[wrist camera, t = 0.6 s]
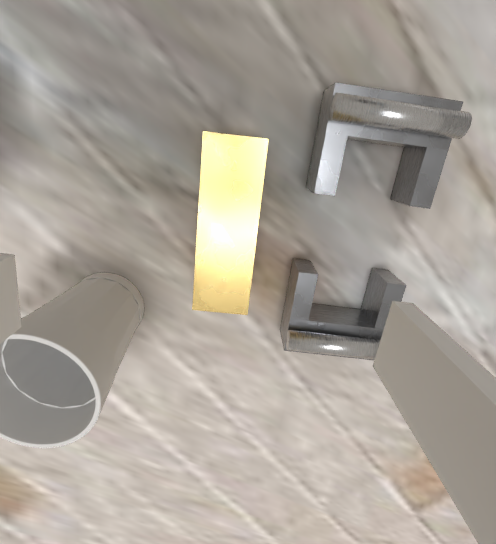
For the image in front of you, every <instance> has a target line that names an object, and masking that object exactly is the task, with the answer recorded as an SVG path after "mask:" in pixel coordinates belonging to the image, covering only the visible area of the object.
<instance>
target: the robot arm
mask: <svg viewBox="0 0 496 544" xmlns="http://www.w3.org/2000/svg"><path fill="white" fill-rule="evenodd" d="M21 327H22V326H21V315H20V305H19V295H18V285H17V274H16V264H15V255H13V254H5V253H0V344H1V343H2V342H3V341H4V340H6V339H7V338H8V337H9V336H11V335H12V334H13V333H15V332H16V331H17V330H18V329H20V328H21ZM373 367H374V369H375V371H376V372H377V374H378V376H379V377H380V379H381V381H382V382H383V384H384V386H385V387H386V389H387V391H388V393H389V394H390V396H391V398H392V399H393V401H394V403H395V404H396V406H397V408H398V409H399V411H400V413H401V414H402V416H403V418H404V419H405V421H406V423H407V424H408V426H409V428H410V429H411V431H412V433H413V435H414V436H415V438H416V440H417V441H418V443H419V445H420V446H421V448H422V450H423V451H424V453H425V455H426V456H427V458H428V460H429V461H430V463H431V465H432V466H433V468H434V470H435V472H436V473H437V475H438V477H439V478H440V480H441V482H442V483H443V485H444V487H445V488H446V490H447V492H448V493H449V495H450V497H451V498H452V500H453V502H454V503H455V505H456V507H457V508H458V510H459V512H460V514H461V515H462V517H463V519H464V520H465V522H466V524H467V525H468V527H469V529H470V530H471V532H472V534H473V535H474V537H475V539H476V540H477V542H478V544H496V378H495V377H494V376H493V375H492V374H491V373H490V372H489V371H487V370H486V369H485V368H484V367H483V366H482V365H481V364H480V363H479V362H477V361H476V360H475V359H474V358H473V357H472V356H471V355H470V354H469V353H468V352H466V351H465V350H464V349H463V348H462V347H461V346H460V345H459V344H458V343H456V342H455V341H454V340H453V339H452V338H451V337H450V336H449V335H448V334H446V333H445V332H444V331H443V330H442V329H441V328H440V327H439V326H438V325H437V324H435V323H434V322H433V321H432V320H431V319H430V318H429V317H428V316H427V315H425V314H424V313H423V312H422V311H421V310H420V309H419V308H418V307H417V306H416V305H414V304H413V303H406V302H398V301H392V304H391V307H390V310H389V314H388V317H387V320H386V324H385V327H384V330H383V334H382V337H381V340H380V344H379V347H378V350H377V354H376V357H375V360H374V364H373Z"/></svg>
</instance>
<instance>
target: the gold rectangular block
mask: <svg viewBox="0 0 496 544" xmlns="http://www.w3.org/2000/svg"><path fill="white" fill-rule="evenodd" d="M268 141H269V139H265V138H257V137H248V136H240V135H231V134H223V133H214V132H206V131H203V139H202V156H201V172H200V189H199V206H198V222H197V239H196V256H195V273H194V289H193V306H192V310H200V311H210V312H221V313H231V314H242V315H247V314H248V306H249V297H250V289H251V281H252V273H253V264H254V256H255V248H256V240H257V231H258V223H259V215H260V207H261V198H262V190H263V182H264V174H265V165H266V157H267V149H268Z"/></svg>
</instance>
